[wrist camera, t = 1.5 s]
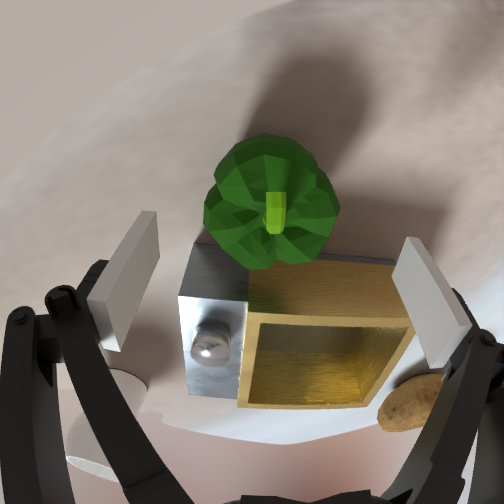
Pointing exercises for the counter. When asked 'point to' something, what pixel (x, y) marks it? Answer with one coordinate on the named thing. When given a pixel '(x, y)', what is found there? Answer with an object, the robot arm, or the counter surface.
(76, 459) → the cup
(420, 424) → the potato
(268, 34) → the counter surface
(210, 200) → the bell pepper
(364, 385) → the gold open box
